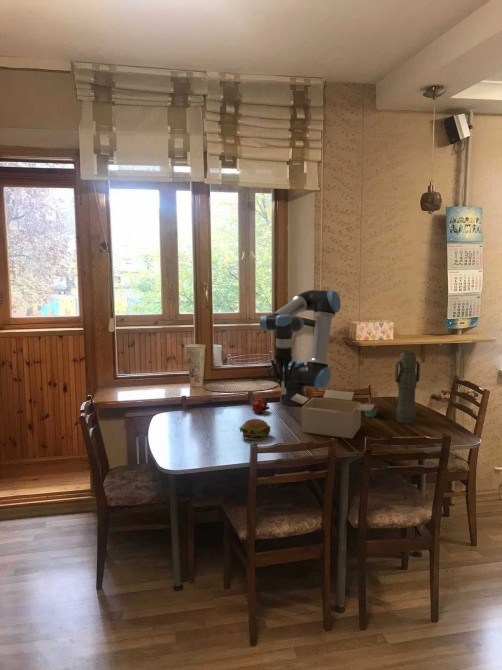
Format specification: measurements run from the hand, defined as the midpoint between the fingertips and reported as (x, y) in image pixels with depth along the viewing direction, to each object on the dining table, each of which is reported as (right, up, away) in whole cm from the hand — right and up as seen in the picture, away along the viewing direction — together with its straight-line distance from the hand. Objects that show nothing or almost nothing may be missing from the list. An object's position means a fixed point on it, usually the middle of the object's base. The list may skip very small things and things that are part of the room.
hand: (283, 393), depth 254 cm
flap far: (+26, -3, -1) cm, 26 cm away
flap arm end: (+11, -3, -4) cm, 12 cm away
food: (-14, -18, -16) cm, 28 cm away
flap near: (+18, -5, -18) cm, 26 cm away
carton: (+22, -16, -7) cm, 29 cm away
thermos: (+61, -14, +4) cm, 63 cm away
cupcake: (+46, -13, +13) cm, 49 cm away
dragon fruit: (-11, -12, +20) cm, 26 cm away
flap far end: (+34, -5, -14) cm, 37 cm away
